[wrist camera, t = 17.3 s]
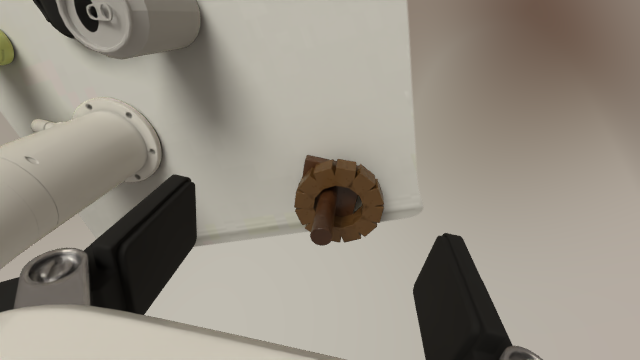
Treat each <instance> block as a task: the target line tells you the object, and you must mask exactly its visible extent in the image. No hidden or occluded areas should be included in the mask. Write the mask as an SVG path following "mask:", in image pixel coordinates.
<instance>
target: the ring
mask: <svg viewBox="0 0 640 360" xmlns="http://www.w3.org/2000/svg"><path fill="white" fill-rule="evenodd" d="M333 186H340V187H346V188H350V189H351V190H352V191H353V192H355V193H356V194H357V195H359V196H360V199H361V201H362V204H361V207H360V208H359V209H358V210H357V211H356V212H355V213H354V214H352V215H348V216H344V217H338V216H335V218H334V226H333V234H332V240H331V241H335V242H340V240H341V236H342V239H343V241H344V242H349V241H353V240H357V239H361V234H362V235H363V236H366V235H367V234H369V233H370V232H371V231H372V230H373V229H374V228H376V227H377V223H379V222H380V219H381V216H382V213H383V209H384V206H383V204H384V202H383V194H382V191H381V188H380V185H379V182H378V179H375V175H374V174H373V173H371V172H370V171H369V170H367V169H366V168H365V167H364V166H362V165H361V164H360V165H359V166H358V167H357V168H356V162H352V161H346V160H341V159H337V164H336V165H335V163H334V160H333V159H332V160H329V161H326V162H323V163H320V164H316V166H315V169H314V168H313V167H311V169H310V170H309V171H308V172H307V173H306V174H305V175H304V176H303V178H302V179H301V181H300V183H299V186H298V188H297V191H296V198H295V206H294V207H295V208H296V210H295V212H296V214H297V216H298V218H299V220H300V222H301V224H302V225H305V224H306V226H305V229H307V230H308V231H310V232H311V230H312V225H313V221H314V217H315V212H316V208H317V203H318V202H317V200H316V197H317V196H318V194H319V193H320V192H321V191H322V190H323V189H326V188H330V187H333Z"/></svg>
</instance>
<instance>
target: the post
mask: <svg viewBox="0 0 640 360" xmlns="http://www.w3.org/2000/svg"><path fill="white" fill-rule="evenodd" d="M326 161H329V159H324V158H319V157H315V156H310V155H307V157H306V159H305V165H304V171H303V176H304V175H305V174H306V173H307V172H308V171H309V170H310V169H311V167H313V168H314V169H315V166H316V164H320V163H323V162H326ZM334 163H335V165H336V164H337V161H334ZM357 167H358V166H357V165H356V168H357ZM302 178H303V177H302ZM357 197H358V195H357V194H356V193H355V192H353V191H352V190H351V189H350V188H346V187H340V186H333V187H330V188H326V189H323V190H322V191H321V192H320V193H319V194H318V196H317V197H316V200H317V202H318V203H317V208H316V212H315V217H314V221H313V225H312V230H311V234H310V237H311V239H312V241H313V242H314V243H315V244H317V245H327V244H329V243H330V242H331V240H332V234H333V226H334V218H335V216H338V217H344V216H348V215H352V214H353V211H354V207H355V204H356V200H357Z"/></svg>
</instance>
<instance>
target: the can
mask: <svg viewBox="0 0 640 360" xmlns="http://www.w3.org/2000/svg"><path fill="white" fill-rule="evenodd" d="M56 2H57V6H58V10H59V13H60V15H61V17H62V19H63V21H64V23H65V25H66V27H67V28H68V29H69V31H70V32H71V33H72V34H73V36H74V37H75V38H76V39H77V40H78V41H80V42H81V43H82V44H83V45H85V46H86V47H88V48H90V49H92V50H94V51H96V52H99V53H101V54H104V55H106V56H108V57H110V58H116V59H127V58H132V57H138V56H143V55H149V54H154V53H159V52H165V51H170V50H176V49H180V48H185V47H187V46H188V45H190V44H191V43H193V42H194V40H195V38H196V37H197V35H198V33H199V29H200V24H201V21H200V10H199V7H198V4H197V1H196V0H56Z"/></svg>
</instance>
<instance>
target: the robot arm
mask: <svg viewBox="0 0 640 360" xmlns="http://www.w3.org/2000/svg"><path fill="white" fill-rule="evenodd" d="M31 129H32V130H33V132H36V133H34V134H31V135H28V136H26V137H23V138H20V139H17V140H15V141H12V142H9V143H6V144H3V145H1V146H0V269H1V268H3V267H4V266H5V265H6V264H8V263H9V262H10V261H12V260H13V259H14V258H15V257H17V256H18V255H19V254H21V253H22V252H24V251H25V250H26V249H28V248H29V247H30V246H32V245H33V244H35V243H36V242H37V241H39V240H40V239H42V238H43V237H45V236H46V235H47V234H49V233H50V232H52V231H53V230H55V229H56V228H57V227H59V226H60V225H62V224H63V223H65V222H66V221H67V220H69V219H70V218H72V217H73V216H74V215H76V214H77V213H79V212H80V211H82V210H83V209H85V208H86V207H87V206H89V205H90V204H92V203H93V202H95V201H96V200H97V199H99V198H100V197H102V196H103V195H105V194H106V193H107V192H109V191H110V190H112V189H113V188H115V187H116V186H117V185H119V184H120V183H122V182H139V181H143V180H145V179H147V178H148V177H150V176H151V175H152V174H154V173H155V171H156V170H157V169H158V167H159V165H160V162H161V157H162V153H161V145H160V141H159V139H158V136H157V134H156V132H155V130H154V129H153V127H152V125H151V124H150V123H149V122H148V121H147V119H146V118H145V117H144V116H143V115H142V114H141V113H139V112H138V111H137V110H136V109H134V108H133V107H131V106H130V105H128V104H126V103H124V102H122V101H119V100H116V99H113V98H106V97H101V98H94V99H91V100H87V101H85V102H83V103H81V104H80V105H79V106H78V107H77V108H76V110H75V111H74V113H73V116H72V120H70V121H67V122H57V123H54V122H51V121H46V120H41V119H35V120H34V121H33V122H32V123H31ZM196 239H197V228H196V198H195V184H194V183H193V182H191V179H190V178H188V177H184V176H179V175H172V176H171V177H170V178H168V179H167V180H166V181H165V182H164V183H162V184H161V185H160V186H159V187H158V188H157V189H155V190H154V191H153V192H152V193H151V194H149V195H148V196H147V197H146V198H145V199H144V200H142V201H141V202H140V203H139V204H138V205H137V206H135V207H134V208H133V209H132V210H131V211H129V212H128V213H127V214H126V215H125V216H124V217H122V218H121V219H120V220H119V221H118V222H116V223H115V224H114V225H113V226H112V227H111V228H109V229H108V230H107V231H106V232H105V233H103V234H102V235H101V236H100V237H99V238H98V239H96V240H95V241H94V242H93V243H92V244H91V245H90V246H89V247H87V248H86V249H85V250H84V251H82V250H80V249H76V248H61V249H55V250H52V251H48V252H46V253H43V254H42V255H39V256H37V257H35V258H34V259H33V260H31V261H29V262H28V263H27V264H26V265H25V266H24V268H23V269H22V271H21V274H20V277H18V278H14V279H11V280H7V281H4V282H1V283H0V360H345V359H341V358H337V357H332V356H328V355H324V354H319V353H315V352H310V351H306V350H301V349H297V348H292V347H288V346H284V345H279V344H275V343H270V342H266V341H261V340H257V339H252V338H248V337H243V336H239V335H234V334H229V333H225V332H220V331H215V330H211V329H206V328H202V327H197V326H193V325H188V324H184V323H179V322H175V321H170V320H165V319H161V318H155V317H151V316H146V315H144V314H145V313H146V311H147V310H148V309H149V307H150V306H151V304H152V303H153V301H154V300H155V299H156V298H157V296H158V295H159V293H160V292H161V291H162V289H163V288H164V286H165V285H166V284H167V282H168V281H169V280H170V278H171V277H172V275H173V274H174V273H175V271H176V270H177V268H178V267H179V265H180V264H181V263H182V262H183V260H184V259H185V257H186V256H187V255H188V253H189V252H190V251H191V249H192V248H193V246H194V245H195V242H196ZM413 295H414V300H415V306H416V311H417V316H418V321H419V326H420V332H421V337H422V342H423V348H424V353H425V358H426V360H543V359H541V358H540V357H539V356H538V355H536V354H534V353H533V352H531V351H530V350H528V349H525V348H523V347H519V346H512V344H511V341H510V339H509V337H508V335H507V333H506V331H505V328H504V326H503V324H502V322H501V320H500V317H499V315H498V313H497V311H496V309H495V307H494V304H493V302H492V300H491V298H490V296H489V294H488V291H487V289H486V287H485V285H484V283H483V281H482V279H481V277H480V275H479V273H478V271H477V269H476V267H475V264H474V262H473V260H472V258H471V256H470V254H469V251H468V249H467V247H466V245H465V243H464V240H463V239H462V237H461V236H457V235H452V234H448V233H444V234H443V235H442V236H438V237H437V239H436V241H435V243H434V245H433V247H432V249H431V251H430V253H429V255H428V257H427V259H426V261H425V264H424V266H423V268H422V270H421V272H420V274H419V276H418V278H417V280H416V282H415V284H414V289H413Z"/></svg>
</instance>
